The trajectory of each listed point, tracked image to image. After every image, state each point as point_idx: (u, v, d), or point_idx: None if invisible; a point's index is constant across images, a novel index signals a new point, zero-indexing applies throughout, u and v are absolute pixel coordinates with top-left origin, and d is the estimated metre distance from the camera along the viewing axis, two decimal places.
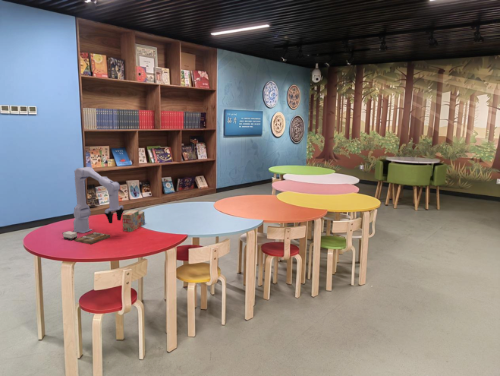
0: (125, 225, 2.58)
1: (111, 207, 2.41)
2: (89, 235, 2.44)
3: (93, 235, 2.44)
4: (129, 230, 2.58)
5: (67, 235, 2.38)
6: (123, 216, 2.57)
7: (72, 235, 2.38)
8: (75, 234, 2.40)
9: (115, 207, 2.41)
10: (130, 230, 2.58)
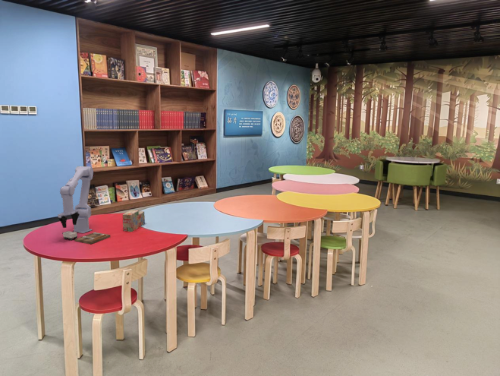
0: (126, 225, 2.58)
1: (65, 211, 2.35)
2: (89, 235, 2.44)
3: (93, 235, 2.44)
4: (129, 230, 2.58)
5: (67, 235, 2.38)
6: (123, 216, 2.57)
7: (72, 235, 2.38)
8: (75, 234, 2.40)
9: (69, 211, 2.35)
10: (130, 230, 2.58)
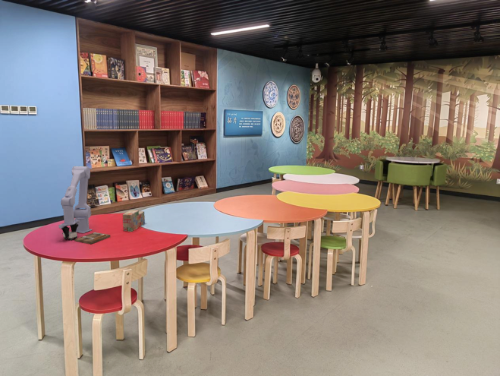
0: (126, 225, 2.58)
1: (66, 222, 2.36)
2: (89, 235, 2.44)
3: (93, 235, 2.44)
4: (129, 230, 2.58)
5: None
6: (123, 216, 2.57)
7: (72, 235, 2.38)
8: (75, 234, 2.40)
9: (70, 222, 2.37)
10: (130, 230, 2.58)
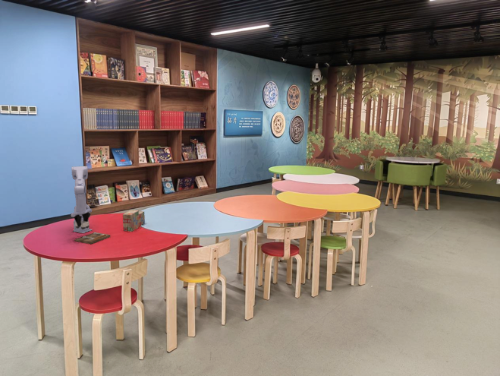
0: (126, 224, 2.58)
1: (78, 210, 2.35)
2: (89, 235, 2.44)
3: (93, 235, 2.44)
4: (129, 230, 2.59)
5: None
6: (123, 216, 2.57)
7: (84, 224, 2.37)
8: (87, 223, 2.39)
9: (82, 210, 2.35)
10: (130, 230, 2.58)
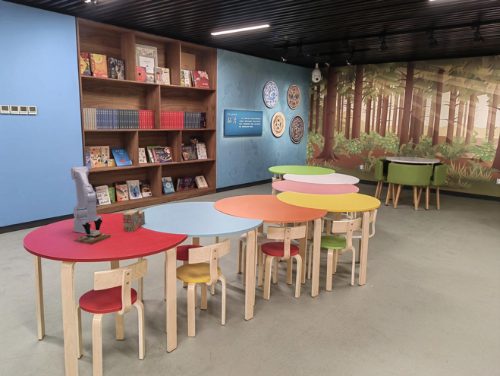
0: (126, 224, 2.58)
1: (89, 218, 2.36)
2: None
3: None
4: (130, 230, 2.59)
5: (90, 233, 2.39)
6: (124, 216, 2.57)
7: (95, 233, 2.38)
8: (98, 232, 2.40)
9: (93, 218, 2.37)
10: (131, 230, 2.59)
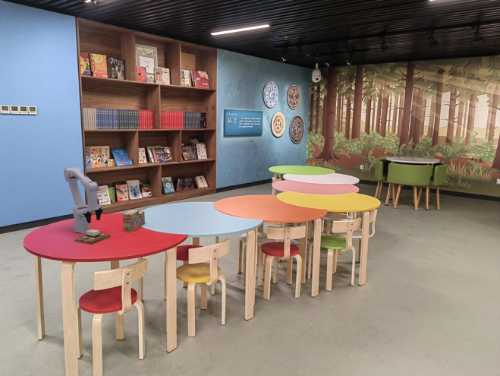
0: (126, 224, 2.58)
1: (90, 207, 2.43)
2: None
3: None
4: (130, 230, 2.59)
5: (90, 233, 2.39)
6: (124, 216, 2.58)
7: (95, 233, 2.38)
8: (98, 232, 2.40)
9: (94, 207, 2.43)
10: (131, 230, 2.59)
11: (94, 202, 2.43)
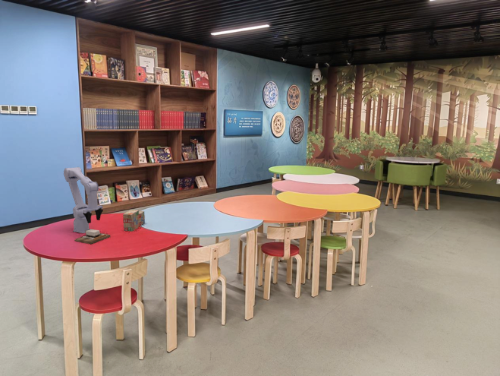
0: (126, 224, 2.59)
1: (90, 207, 2.43)
2: None
3: None
4: (130, 230, 2.59)
5: (90, 233, 2.39)
6: (124, 216, 2.58)
7: (95, 233, 2.38)
8: (98, 232, 2.40)
9: (94, 207, 2.43)
10: (131, 230, 2.59)
11: (94, 202, 2.43)
